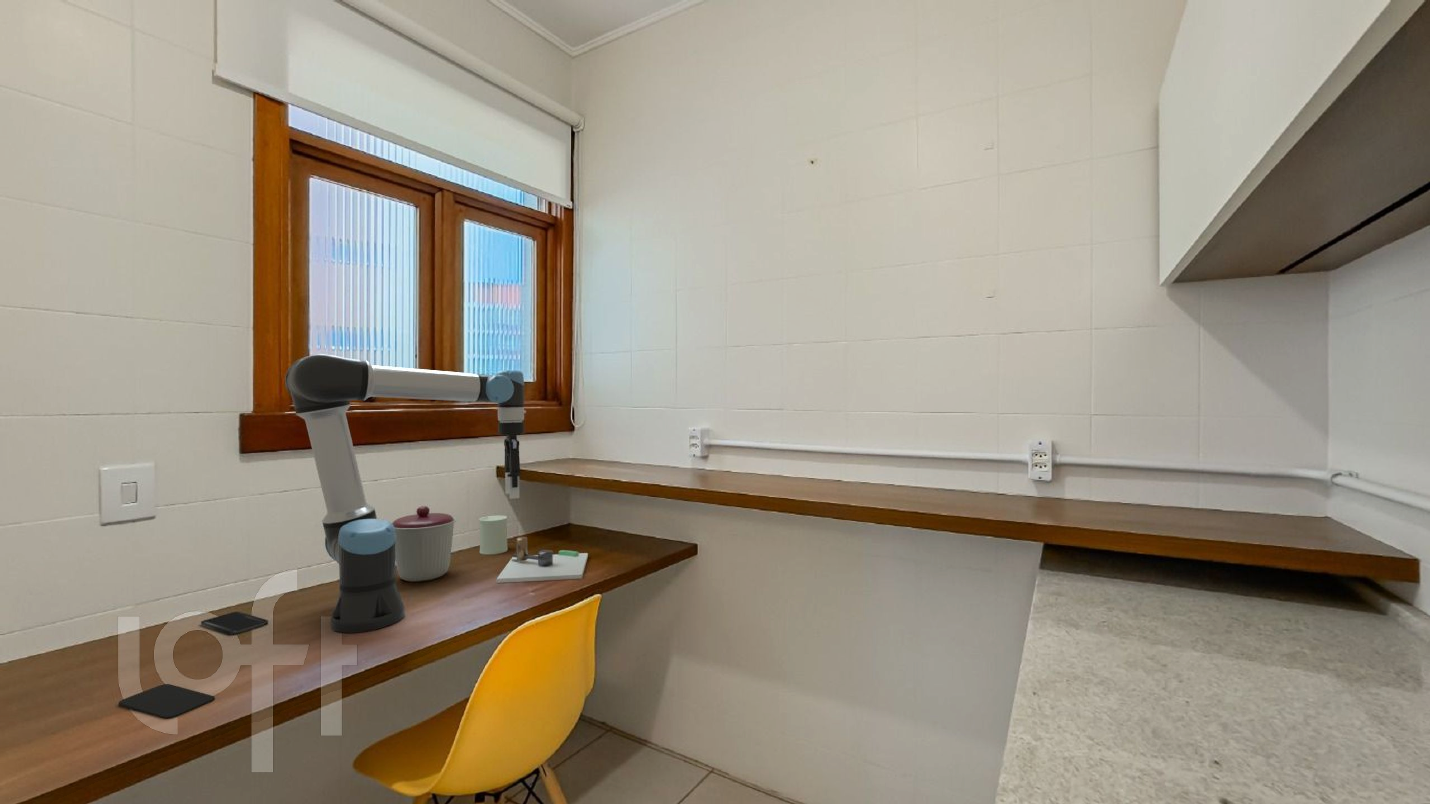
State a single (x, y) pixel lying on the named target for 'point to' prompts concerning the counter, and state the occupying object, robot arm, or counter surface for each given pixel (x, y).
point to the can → (493, 534)
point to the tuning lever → (543, 556)
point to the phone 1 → (166, 701)
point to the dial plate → (545, 568)
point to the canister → (423, 544)
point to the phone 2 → (234, 623)
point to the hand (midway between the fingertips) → (512, 495)
